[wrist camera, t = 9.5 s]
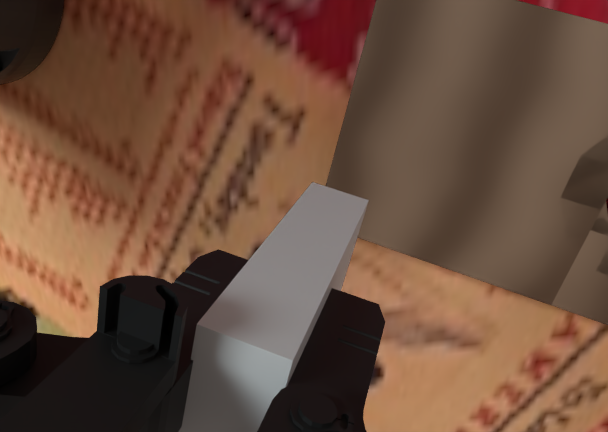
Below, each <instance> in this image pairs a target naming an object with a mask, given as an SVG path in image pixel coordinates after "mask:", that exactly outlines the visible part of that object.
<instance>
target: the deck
mask: <svg viewBox="0 0 608 432" xmlns="http://www.w3.org/2000/svg"><path fill="white" fill-rule="evenodd" d="M326 187H329V188H332V189H335V190H339V191H342V192H345V193H348V194H351V195H354V196H357V197H360V198H363V199H366V200H369V201H368V204H367V208H366V211H365V214H364V217H363V221H362V224H361V227H360V230H359V234H358V238H361V239H363V240H366V241H369V242H372V243H375V244H378V245H381V246H383V247H386V248H389V249H392V250H395V251H398V252H401V253H403V254H406V255H409V256H412V257H415V258H418V259H421V260H423V261H426V262H429V263H432V264H435V265H438V266H441V267H443V268H446V269H449V270H452V271H455V272H458V273H461V274H463V275H466V276H469V277H472V278H475V279H478V280H481V281H483V282H486V283H489V284H492V285H495V286H498V287H501V288H503V289H506V290H509V291H512V292H515V293H518V294H521V295H523V296H526V297H529V298H532V299H535V300H538V301H541V302H543V303H546V304H549V305H552V306H555V307H558V308H561V309H563V310H566V311H569V312H572V313H575V314H578V315H581V316H583V317H586V318H589V319H592V320H595V321H598V322H601V323H603V324H606V325H608V214H607V205H606V200H607V198H608V24H606V23H602V22H598V21H594V20H591V19H587V18H583V17H579V16H575V15H571V14H567V13H563V12H560V11H556V10H552V9H548V8H544V7H540V6H536V5H532V4H529V3H525V2H521V1H517V0H376V3H375V7H374V11H373V14H372V18H371V22H370V25H369V29H368V33H367V36H366V40H365V44H364V47H363V51H362V55H361V58H360V62H359V66H358V69H357V73H356V77H355V80H354V84H353V88H352V91H351V95H350V99H349V102H348V106H347V110H346V113H345V117H344V121H343V124H342V128H341V132H340V135H339V139H338V143H337V146H336V150H335V154H334V157H333V161H332V165H331V168H330V172H329V176H328V179H327V183H326Z"/></svg>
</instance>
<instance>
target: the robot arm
mask: <svg viewBox="0 0 608 432" xmlns="http://www.w3.org/2000/svg"><path fill="white" fill-rule="evenodd" d="M63 5H64V0H0V84H4V83H9V82H12V81H15V80H18V79H20V78H22V77H24V76H25V75H27V74H28V73H30V72H31V71H32V70H34V69H35V68H36V67H37V66H38V65H39V64H40V63H41V62H42V60H43V59H44V58H45V56H46V55H47V53H48V52H49V50H50V48H51V47H52V45H53V43H54V40H55V38H56V35H57V33H58V30H59V26H60V22H61V18H62V12H63ZM368 201H369V200H366V199H363V198H360V197H357V196H354V195H351V194H348V193H345V192H342V191H339V190H335V189H332V188H329V187H326V186H323V185H320V184H317V183H314V182H312V183H311V184H310V186H309V187H308V188H307V189H306V191H305V192H304V193H303V194H302V195H301V197H300V198H299V199H298V200H297V202H296V203H295V204H294V205H293V206H292V208H291V209H290V210H289V211H288V213H287V214H286V215H285V216H284V218H283V219H282V220H281V221H280V222H279V224H278V225H277V226H276V227H275V229H274V230H273V231H272V232H271V234H270V235H269V236H268V237H267V238H266V240H265V241H264V242H263V243H262V245H261V246H260V247H259V248H258V249H257V251H256V252H255V253H254V254H253V256H252V257H251V258H250V259H249V260H246V259H244V258H241V257H238V256H235V255H232V254H229V253H227V252H224V251H221V250H216V251H213V252H211V253H208V254H205V255H203V256H200V257H198V258H197V259H196V260H195V261H194V262H193V263H192V264H191V265H190V266H189V267H188V268H187V269H186V271H185V272H183V273H182V274H181V275H180V276H179V277H178V278H177V279H176V280H175V282H174V283H172V284H171V283H169V282H167V281H166V280H163V279H159V278H155V277H151V276H125V277H121V278H116V279H113V280H111V281H109V282H107V283H105V284H103V285H102V286H100V294H99V308H98V323H97V331H96V332H95V333H94V334H93V335H92V336H91V337H90V338H79V337H67V336H60V335H52V334H44V333H37V324H36V317H35V316H34V315H33V314H32V313H31V311H30V310H29V309H28V308H26V307H23V306H21V305H19V304H17V303H14V302H7V301H0V432H366V430H365V426H364V421H363V410H364V405H365V401H366V397H367V393H368V389H369V385H370V381H371V377H372V373H373V369H374V365H375V361H376V357H377V353H378V349H379V345H380V340H381V337H382V333H383V329H384V325H385V320H384V318H383V315H382V312H381V309H380V307H379V304H376V303H373V302H370V301H367V300H365V299H362V298H359V297H356V296H353V295H351V294H348V293H345V292H342V291H341V289H342V286H343V282H344V279H345V276H346V273H347V269H348V266H349V263H350V260H351V256H352V253H353V250H354V247H355V243H356V240H357V237H358V234H359V230H360V227H361V224H362V221H363V217H364V214H365V211H366V208H367V204H368Z"/></svg>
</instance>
